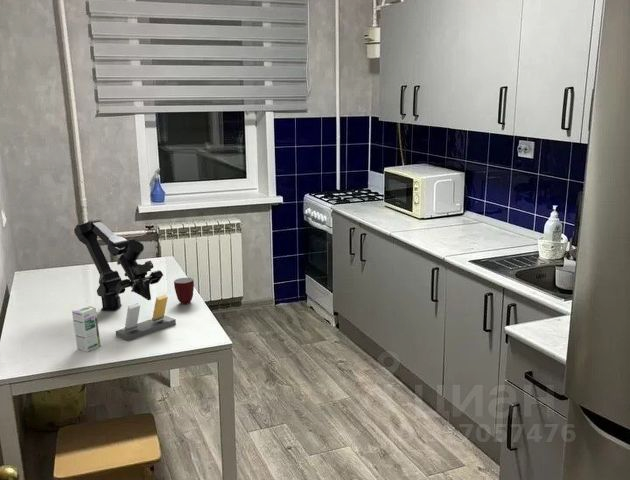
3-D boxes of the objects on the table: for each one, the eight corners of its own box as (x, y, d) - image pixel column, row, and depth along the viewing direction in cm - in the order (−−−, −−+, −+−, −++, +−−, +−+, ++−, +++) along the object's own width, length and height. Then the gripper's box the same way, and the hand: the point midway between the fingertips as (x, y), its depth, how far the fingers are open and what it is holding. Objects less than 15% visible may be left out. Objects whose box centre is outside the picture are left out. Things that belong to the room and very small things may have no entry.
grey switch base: (128, 341, 218) (127, 335, 217) (116, 336, 223) (115, 330, 222) (175, 324, 233) (175, 318, 233) (163, 319, 238) (162, 314, 238)
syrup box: (87, 352, 210) (82, 312, 206) (76, 348, 213) (71, 309, 209) (100, 346, 214) (96, 307, 211) (90, 343, 217) (85, 304, 214)
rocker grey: (124, 329, 222) (127, 306, 217) (134, 326, 225) (138, 303, 220) (126, 332, 221) (130, 308, 216) (136, 328, 224) (140, 305, 219)
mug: (196, 306, 252) (194, 283, 250) (176, 309, 250) (174, 285, 248) (194, 298, 262) (192, 276, 260) (175, 301, 260) (173, 278, 258)
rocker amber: (151, 319, 231) (155, 297, 226) (161, 316, 234) (165, 294, 229) (154, 322, 230) (158, 300, 225) (163, 319, 233) (168, 297, 228)
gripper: (116, 260, 225) (136, 295, 221) (158, 250, 239) (177, 282, 235) (107, 277, 232) (125, 310, 228) (148, 266, 246) (167, 297, 241)
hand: (149, 299), depth 233 cm, fingers closed
